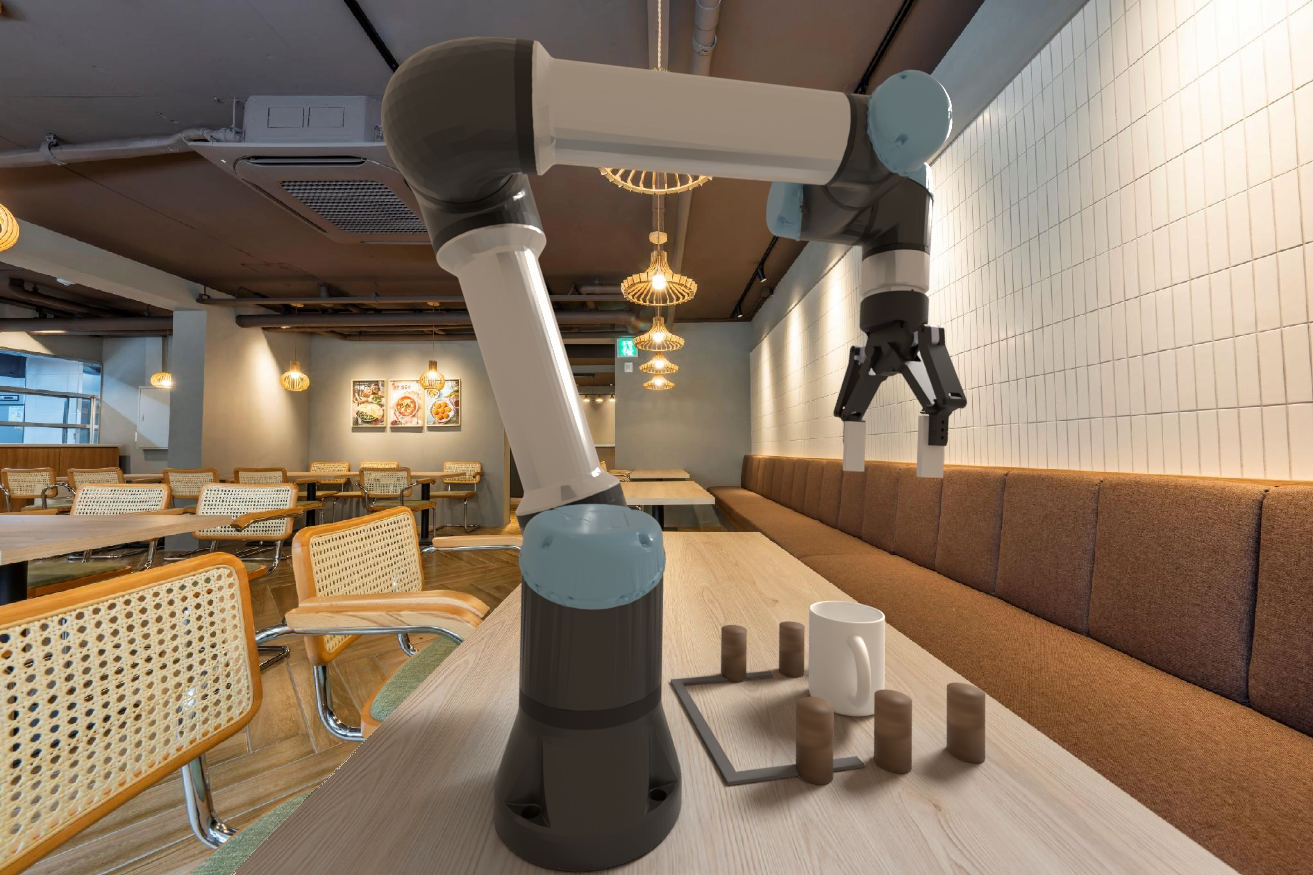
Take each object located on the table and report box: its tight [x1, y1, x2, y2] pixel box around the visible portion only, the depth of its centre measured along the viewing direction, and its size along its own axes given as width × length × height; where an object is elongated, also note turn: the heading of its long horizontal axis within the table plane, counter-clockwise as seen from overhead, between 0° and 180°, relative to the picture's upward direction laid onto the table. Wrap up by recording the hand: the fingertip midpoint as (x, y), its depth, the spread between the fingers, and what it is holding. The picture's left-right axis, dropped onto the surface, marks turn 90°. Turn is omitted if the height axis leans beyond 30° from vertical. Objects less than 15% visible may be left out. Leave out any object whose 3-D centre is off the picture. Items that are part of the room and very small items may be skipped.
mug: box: [808, 600, 886, 718], centre depth 59 cm, size 12×8×10 cm
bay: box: [670, 670, 866, 786], centre depth 56 cm, size 13×20×1 cm, turn 13°
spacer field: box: [720, 620, 986, 786], centre depth 58 cm, size 19×23×6 cm
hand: (887, 474), depth 62 cm, fingers open, 13 cm apart
